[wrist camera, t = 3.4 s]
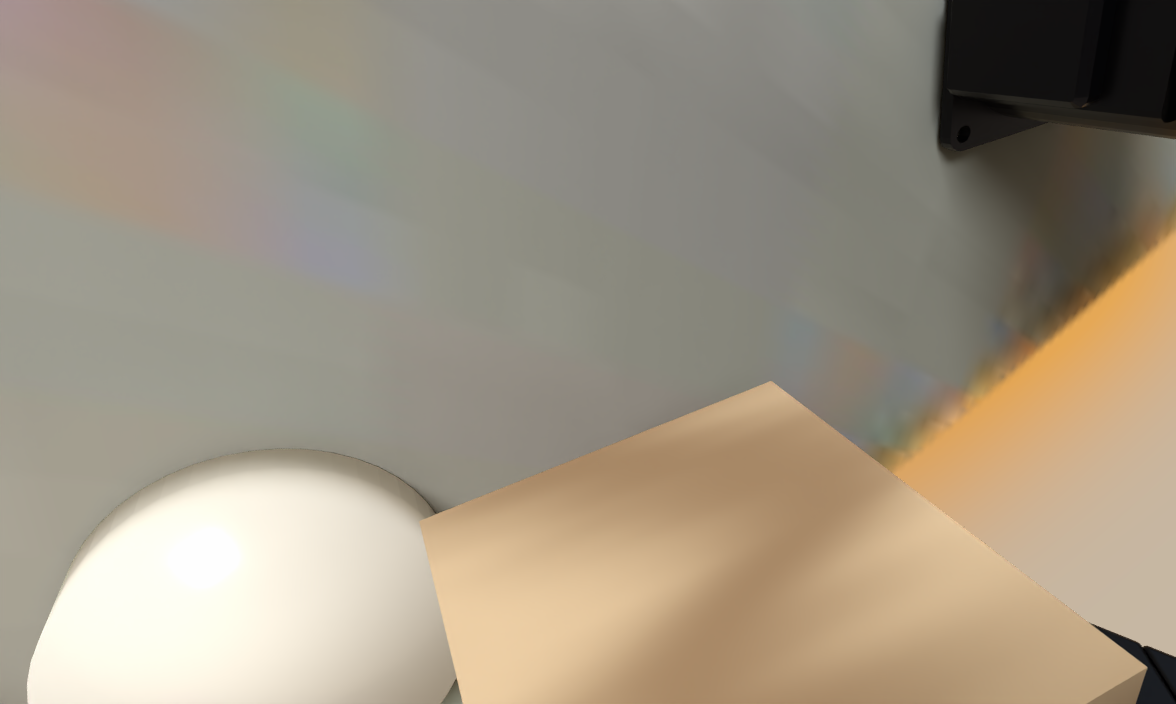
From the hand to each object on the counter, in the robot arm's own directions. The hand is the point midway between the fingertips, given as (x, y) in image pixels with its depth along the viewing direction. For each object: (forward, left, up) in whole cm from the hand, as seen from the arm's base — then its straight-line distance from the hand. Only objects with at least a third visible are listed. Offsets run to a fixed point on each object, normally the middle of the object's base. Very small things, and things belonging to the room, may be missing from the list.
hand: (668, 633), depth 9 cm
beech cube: (0, 0, -1) cm, 1 cm away
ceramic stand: (+8, +6, -11) cm, 15 cm away
